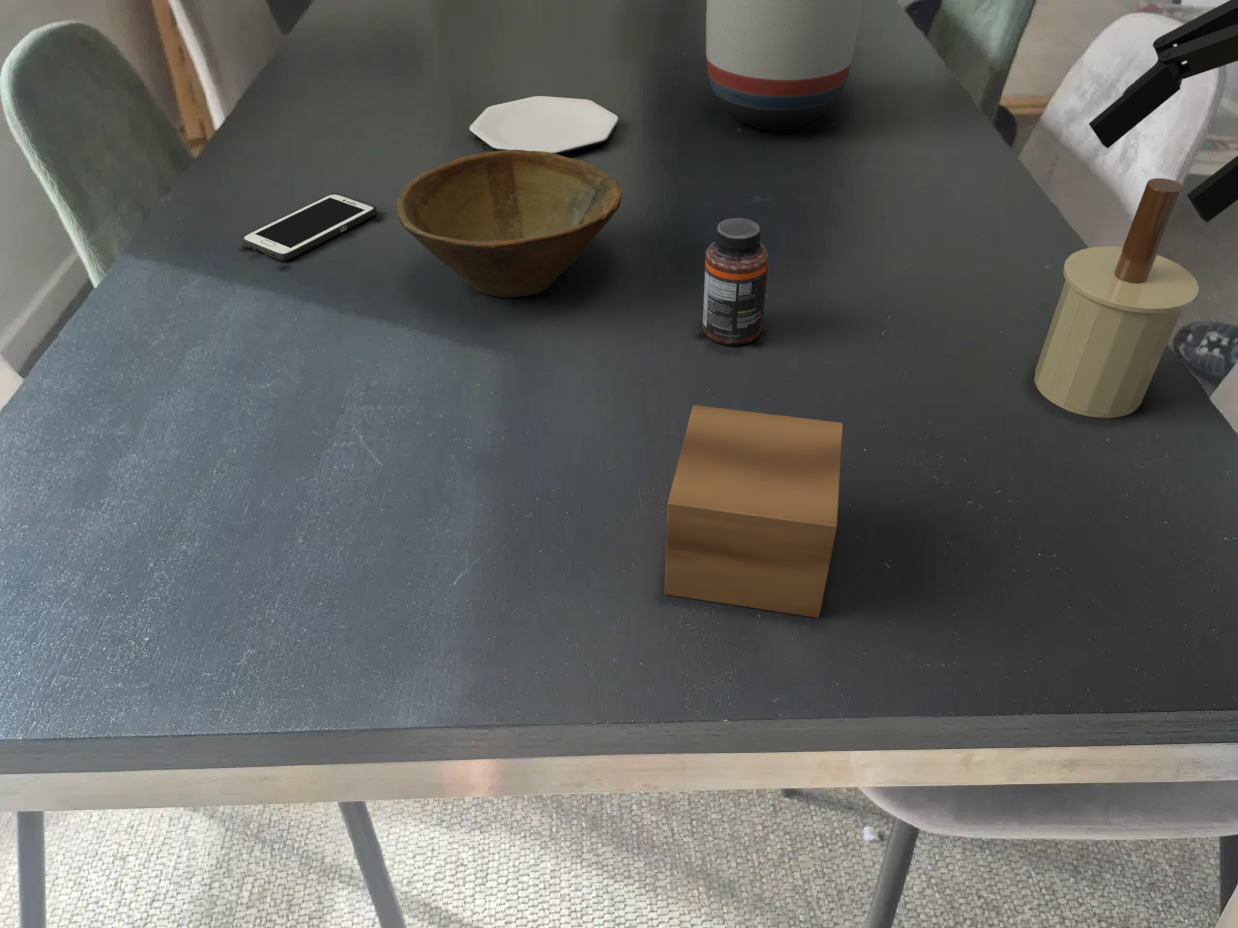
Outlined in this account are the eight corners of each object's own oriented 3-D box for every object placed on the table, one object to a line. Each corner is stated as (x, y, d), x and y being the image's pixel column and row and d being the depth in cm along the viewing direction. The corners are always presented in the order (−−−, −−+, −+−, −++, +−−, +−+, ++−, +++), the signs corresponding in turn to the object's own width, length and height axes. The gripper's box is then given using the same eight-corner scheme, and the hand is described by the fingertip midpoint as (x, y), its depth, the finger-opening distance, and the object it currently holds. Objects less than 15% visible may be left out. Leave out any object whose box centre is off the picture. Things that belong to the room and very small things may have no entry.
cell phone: (239, 245, 109) (237, 237, 108) (336, 198, 118) (334, 191, 117) (284, 264, 105) (282, 256, 105) (380, 214, 114) (379, 206, 114)
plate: (628, 112, 139) (628, 102, 138) (595, 167, 125) (595, 155, 124) (500, 103, 143) (500, 92, 142) (454, 154, 128) (453, 143, 127)
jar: (1151, 424, 83) (1200, 315, 75) (1040, 411, 84) (1078, 303, 77) (1131, 365, 89) (1174, 260, 82) (1028, 354, 91) (1062, 250, 84)
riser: (819, 618, 66) (837, 526, 60) (664, 594, 68) (667, 503, 62) (826, 512, 74) (843, 422, 69) (688, 493, 76) (692, 404, 70)
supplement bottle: (729, 309, 98) (737, 206, 90) (774, 332, 94) (785, 227, 87) (688, 330, 95) (693, 226, 87) (733, 355, 91) (742, 248, 84)
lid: (1174, 328, 74) (1218, 228, 68) (1043, 285, 79) (1074, 189, 74) (1212, 276, 80) (1255, 180, 74) (1088, 240, 85) (1119, 147, 80)
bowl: (642, 318, 96) (643, 227, 90) (415, 345, 93) (399, 253, 86) (601, 222, 113) (599, 140, 106) (406, 242, 109) (392, 158, 103)
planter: (769, 87, 147) (783, -69, 133) (874, 124, 135) (901, -42, 121) (671, 119, 137) (676, -45, 123) (775, 163, 125) (792, -14, 111)
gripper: (1605, 38, 57) (1266, 278, 65) (1318, -56, 76) (1083, 139, 84) (1584, -57, 53) (1227, 211, 61) (1286, -131, 72) (1043, 81, 80)
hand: (1143, 170), depth 73 cm, fingers open, 13 cm apart
